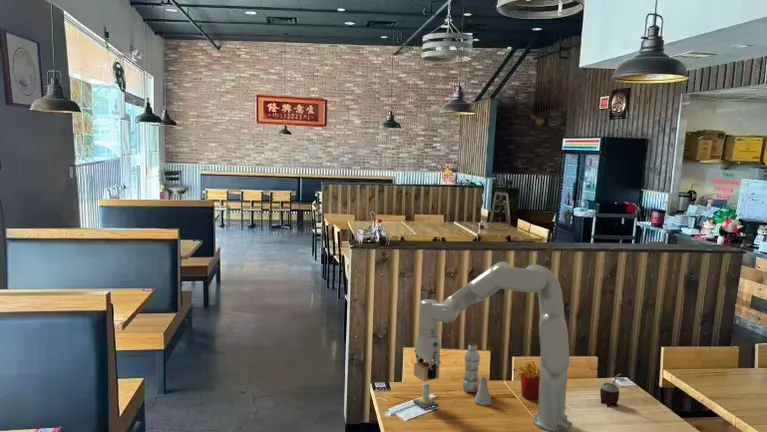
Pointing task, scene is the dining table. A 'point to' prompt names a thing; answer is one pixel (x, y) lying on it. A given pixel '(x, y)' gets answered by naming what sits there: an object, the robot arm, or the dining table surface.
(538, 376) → the french fries
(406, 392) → the dining table surface
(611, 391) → the mate gourd
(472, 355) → the plastic bottle
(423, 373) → the collar
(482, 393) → the flask
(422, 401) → the post stand
